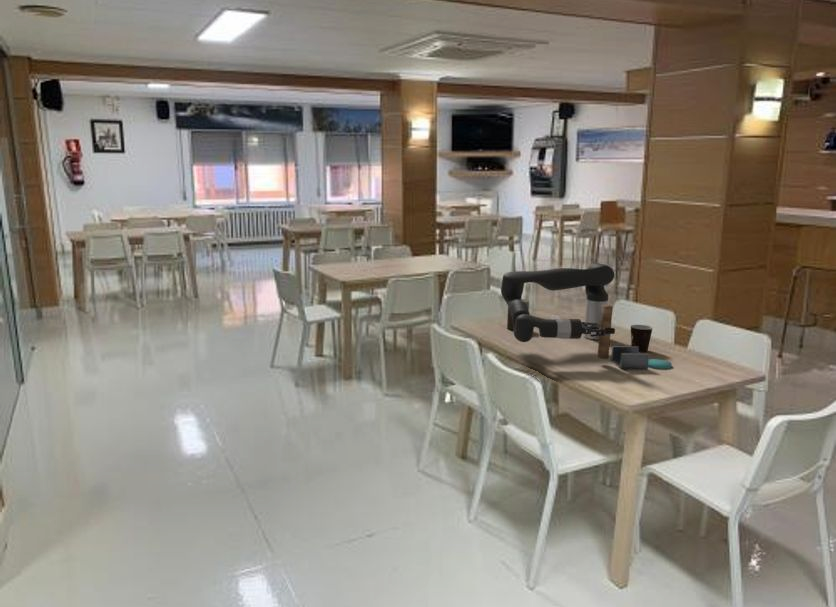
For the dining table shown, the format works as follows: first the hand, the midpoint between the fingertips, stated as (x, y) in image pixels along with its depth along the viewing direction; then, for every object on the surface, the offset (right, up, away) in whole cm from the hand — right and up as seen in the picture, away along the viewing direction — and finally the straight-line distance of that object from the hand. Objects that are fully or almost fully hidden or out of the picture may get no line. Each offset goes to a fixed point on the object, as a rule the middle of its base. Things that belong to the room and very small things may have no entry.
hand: (612, 329), depth 241 cm
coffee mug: (+18, -10, +23) cm, 31 cm away
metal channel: (+7, -14, +3) cm, 16 cm away
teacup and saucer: (-7, 0, +74) cm, 74 cm away
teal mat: (+18, -14, +3) cm, 23 cm away
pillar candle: (-27, -2, +58) cm, 64 cm away
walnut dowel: (-3, -11, +2) cm, 11 cm away
